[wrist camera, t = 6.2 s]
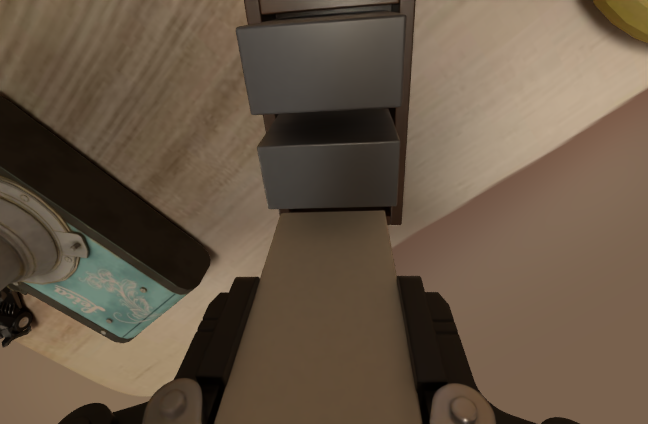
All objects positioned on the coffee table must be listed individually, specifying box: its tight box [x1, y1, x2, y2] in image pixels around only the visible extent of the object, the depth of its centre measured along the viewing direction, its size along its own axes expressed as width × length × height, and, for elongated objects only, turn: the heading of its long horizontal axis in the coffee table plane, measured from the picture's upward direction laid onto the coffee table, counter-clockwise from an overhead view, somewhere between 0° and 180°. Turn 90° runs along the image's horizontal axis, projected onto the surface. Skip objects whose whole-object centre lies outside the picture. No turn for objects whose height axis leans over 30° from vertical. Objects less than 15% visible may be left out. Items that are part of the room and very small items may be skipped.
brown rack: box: [236, 0, 416, 225], centre depth 15 cm, size 7×11×9 cm, turn 4°
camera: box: [0, 97, 210, 343], centre depth 20 cm, size 16×10×10 cm
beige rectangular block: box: [214, 210, 423, 424], centre depth 11 cm, size 5×1×9 cm, turn 94°
